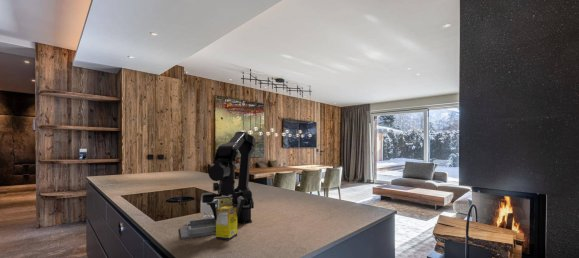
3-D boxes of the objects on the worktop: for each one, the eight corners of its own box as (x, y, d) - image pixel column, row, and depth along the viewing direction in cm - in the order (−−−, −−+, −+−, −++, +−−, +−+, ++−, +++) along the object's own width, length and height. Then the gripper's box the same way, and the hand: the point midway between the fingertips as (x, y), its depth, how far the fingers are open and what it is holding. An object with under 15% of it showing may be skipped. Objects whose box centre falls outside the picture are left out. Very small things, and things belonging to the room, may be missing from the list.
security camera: (212, 222, 120) (212, 200, 121) (198, 221, 122) (198, 199, 122) (218, 218, 127) (219, 197, 127) (205, 217, 128) (205, 196, 129)
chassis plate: (222, 222, 119) (222, 216, 119) (229, 232, 106) (229, 225, 106) (179, 228, 112) (180, 221, 112) (181, 239, 99) (181, 231, 99)
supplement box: (237, 235, 103) (237, 206, 103) (229, 240, 97) (229, 210, 98) (224, 233, 105) (224, 205, 105) (215, 238, 99) (215, 209, 100)
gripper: (245, 174, 113) (244, 210, 113) (199, 176, 106) (199, 216, 105) (252, 177, 103) (252, 217, 102) (202, 180, 96) (202, 223, 95)
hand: (226, 218), depth 101 cm, fingers closed on supplement box, 8 cm apart
